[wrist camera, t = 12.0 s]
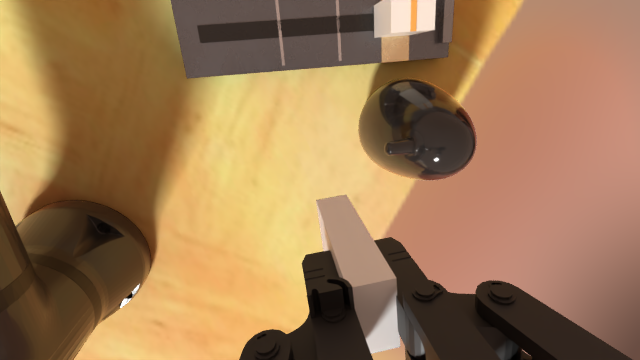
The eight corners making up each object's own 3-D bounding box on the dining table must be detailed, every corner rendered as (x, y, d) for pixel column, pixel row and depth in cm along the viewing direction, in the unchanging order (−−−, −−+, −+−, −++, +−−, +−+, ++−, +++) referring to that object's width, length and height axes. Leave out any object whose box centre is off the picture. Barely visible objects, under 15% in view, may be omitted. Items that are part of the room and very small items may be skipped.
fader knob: (374, 37, 34) (391, 33, 28) (373, 5, 33) (391, -6, 27) (411, 35, 34) (435, 29, 29) (411, 3, 33) (436, -9, 28)
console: (191, 77, 35) (184, 78, 32) (175, -6, 32) (164, -13, 29) (439, 57, 37) (452, 57, 34) (443, -23, 34) (458, -30, 32)
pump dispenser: (352, 75, 37) (397, 82, 23) (438, 77, 38) (533, 85, 24) (347, 160, 40) (383, 213, 26) (426, 160, 41) (502, 210, 27)
